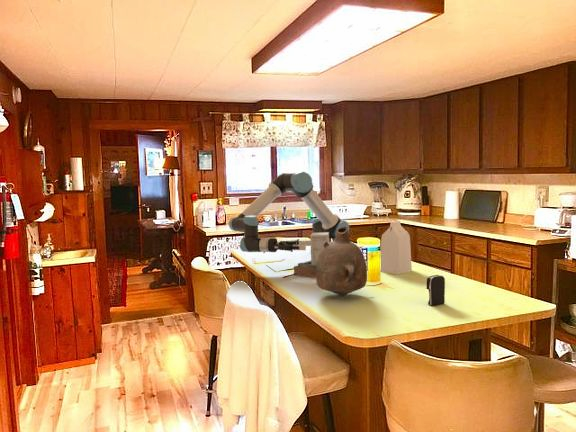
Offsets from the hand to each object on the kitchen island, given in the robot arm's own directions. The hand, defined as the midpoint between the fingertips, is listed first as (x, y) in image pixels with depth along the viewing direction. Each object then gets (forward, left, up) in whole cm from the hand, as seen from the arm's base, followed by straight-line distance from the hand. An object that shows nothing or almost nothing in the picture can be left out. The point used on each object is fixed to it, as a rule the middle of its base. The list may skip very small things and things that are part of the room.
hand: (308, 245), depth 250 cm
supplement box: (-3, +5, -11) cm, 13 cm away
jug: (+26, +41, -15) cm, 51 cm away
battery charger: (+13, +77, -15) cm, 80 cm away
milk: (-30, +33, -15) cm, 48 cm away
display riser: (-3, +5, -15) cm, 16 cm away
